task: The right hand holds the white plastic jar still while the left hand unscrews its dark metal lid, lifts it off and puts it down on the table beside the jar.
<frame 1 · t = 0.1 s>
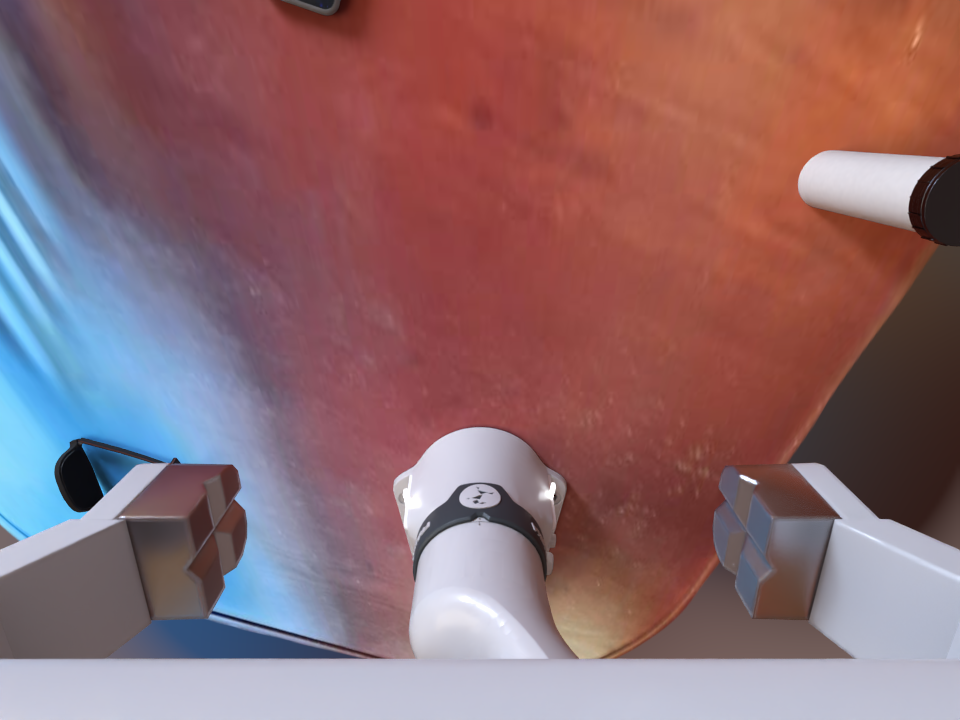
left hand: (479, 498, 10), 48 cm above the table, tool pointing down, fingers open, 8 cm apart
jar: (825, 179, 54), on the table
sunglasses: (164, 486, 66), on the table
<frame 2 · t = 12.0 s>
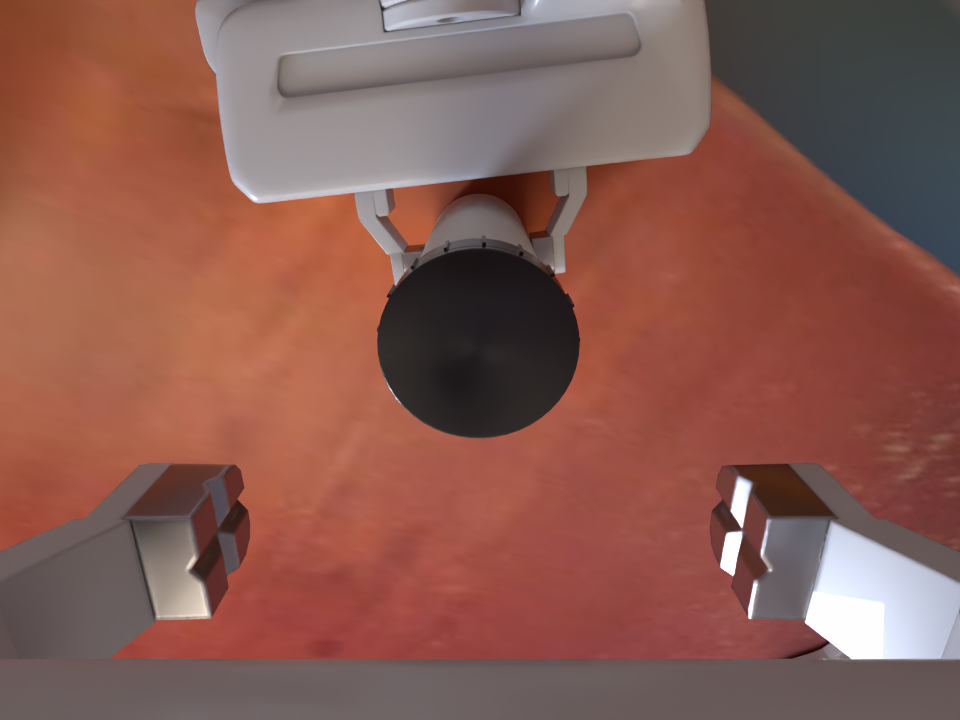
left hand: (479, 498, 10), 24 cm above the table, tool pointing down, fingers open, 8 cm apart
right hand: (481, 279, 28), fingers closed on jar, 5 cm apart
lid: (478, 345, 17), point 17 cm above the table, screwed on, not yet turned
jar: (478, 240, 33), on the table, touching right hand
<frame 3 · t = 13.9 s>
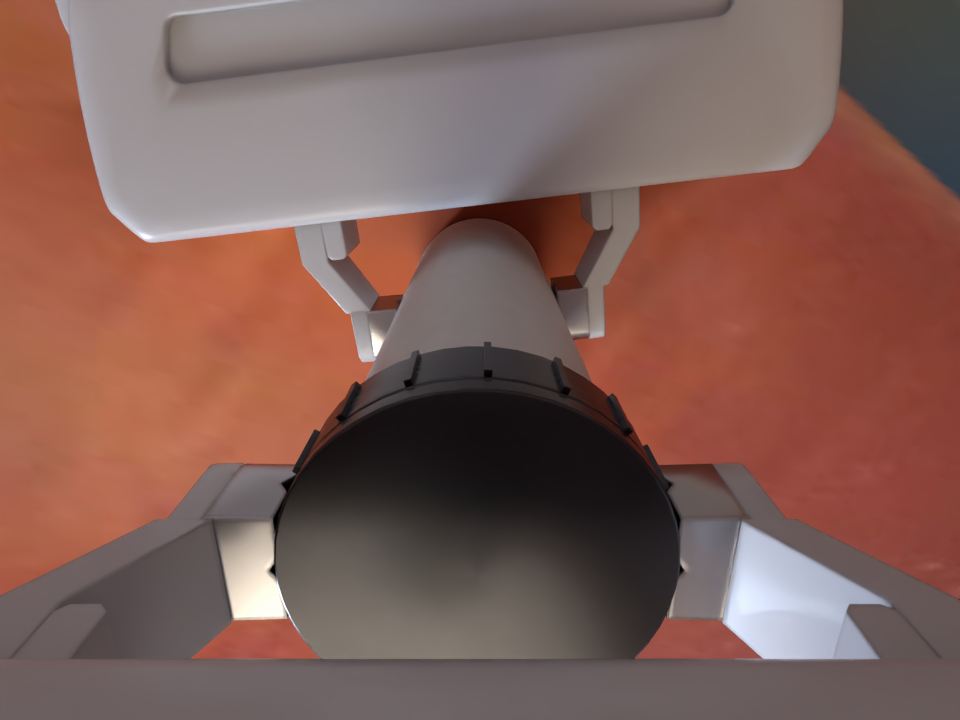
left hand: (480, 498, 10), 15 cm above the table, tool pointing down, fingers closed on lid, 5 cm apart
right hand: (483, 344, 20), fingers closed on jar, 5 cm apart
lid: (477, 558, 9), point 17 cm above the table, screwed on, not yet turned, touching left hand
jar: (479, 280, 24), on the table, touching right hand
when the left hand's fingers open (2 cm above the table, at t = 35.6 s): lid drops 2 cm, point 1 cm above the table.
when the right hand's fingers open (5 cm above the table, at t = 36.7 s): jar stays where it is, on the table.
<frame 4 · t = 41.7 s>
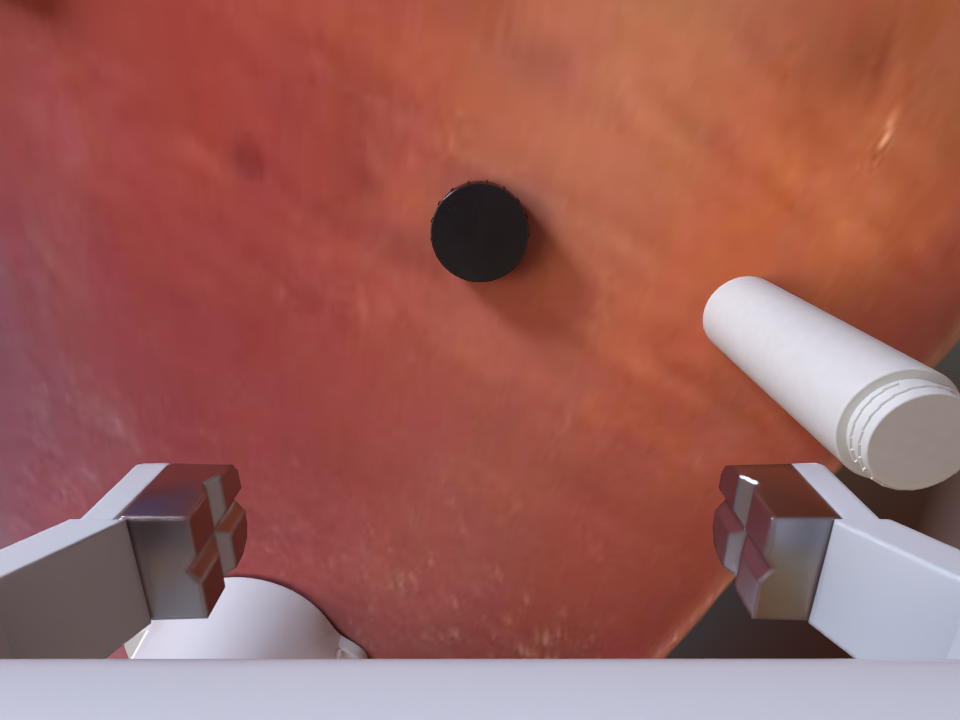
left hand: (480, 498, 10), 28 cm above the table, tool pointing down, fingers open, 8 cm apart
lid: (479, 233, 35), point 1 cm above the table, off its thread
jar: (742, 314, 38), on the table
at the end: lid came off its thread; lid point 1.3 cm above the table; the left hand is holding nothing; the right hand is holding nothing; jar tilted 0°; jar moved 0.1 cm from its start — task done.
